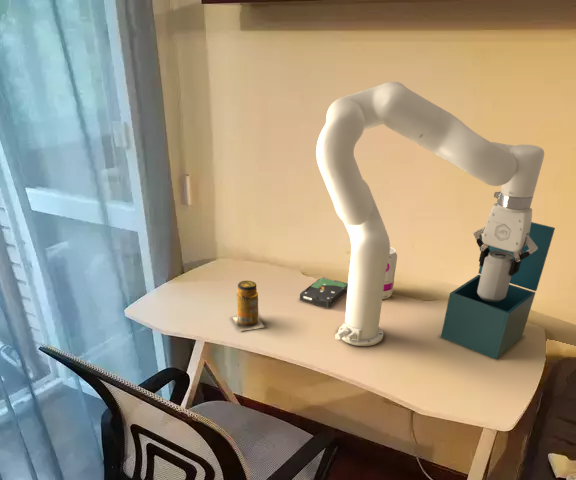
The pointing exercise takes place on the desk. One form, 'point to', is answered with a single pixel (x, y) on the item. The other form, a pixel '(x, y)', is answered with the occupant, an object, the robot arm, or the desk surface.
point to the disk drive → (324, 292)
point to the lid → (532, 257)
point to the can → (495, 276)
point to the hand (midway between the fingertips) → (497, 269)
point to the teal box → (486, 318)
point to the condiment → (247, 306)
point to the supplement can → (390, 274)
